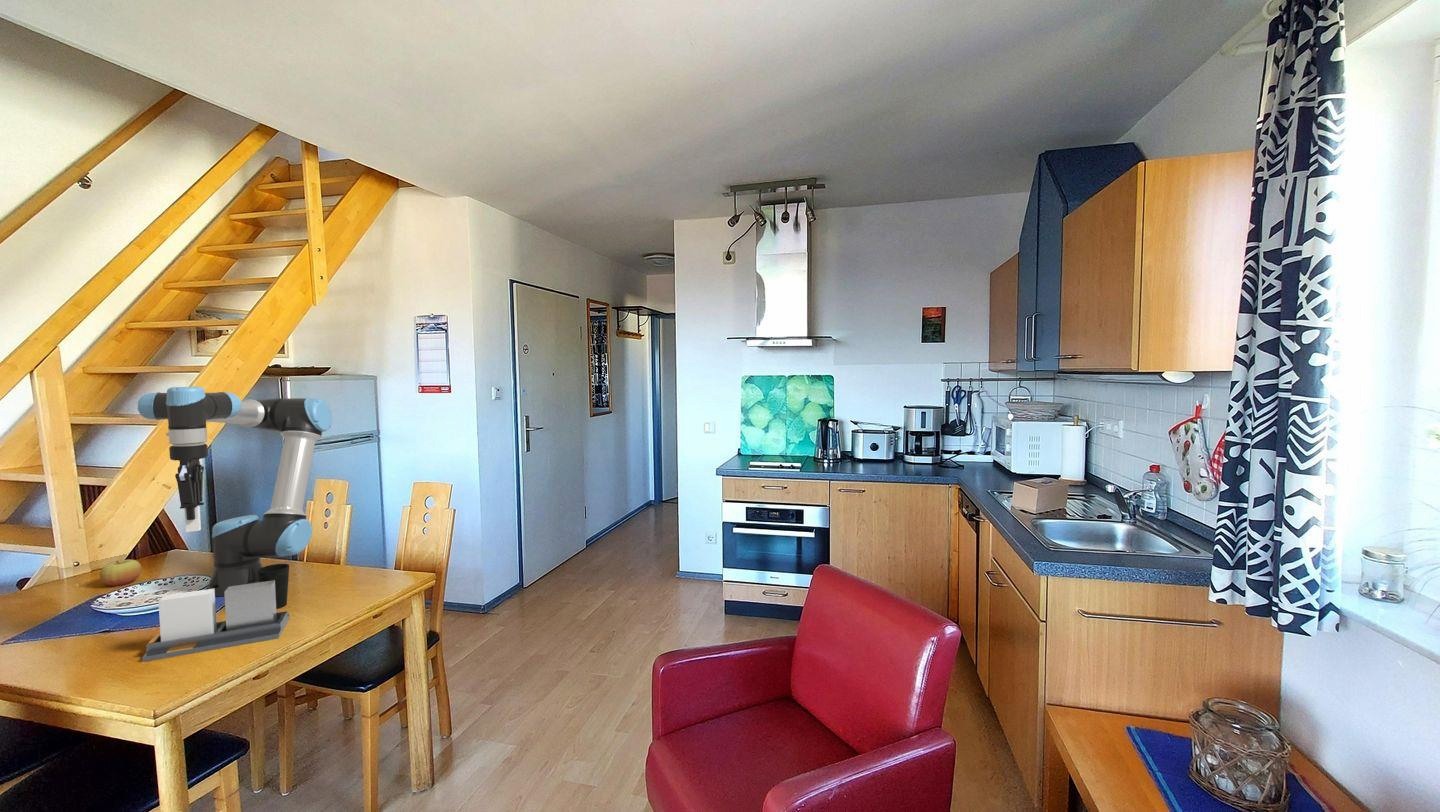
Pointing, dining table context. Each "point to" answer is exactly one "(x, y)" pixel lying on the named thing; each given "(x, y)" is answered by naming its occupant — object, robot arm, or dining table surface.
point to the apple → (120, 572)
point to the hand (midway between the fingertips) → (193, 530)
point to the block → (187, 614)
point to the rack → (231, 623)
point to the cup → (276, 581)
